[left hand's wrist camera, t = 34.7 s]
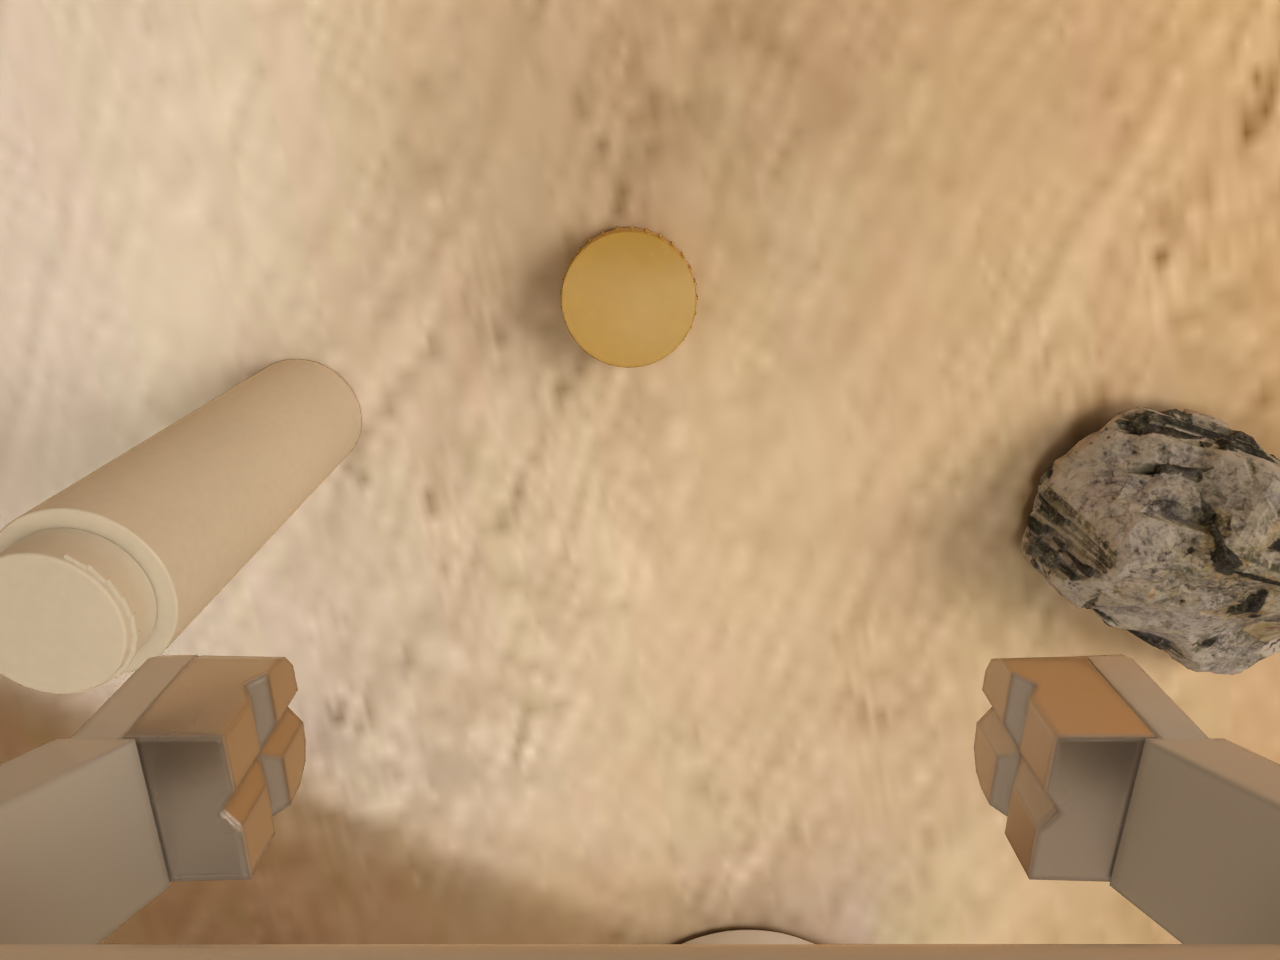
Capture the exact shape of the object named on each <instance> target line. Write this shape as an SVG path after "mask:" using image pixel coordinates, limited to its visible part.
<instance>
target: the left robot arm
mask: <svg viewBox="0 0 1280 960" xmlns="http://www.w3.org/2000/svg"><path fill="white" fill-rule="evenodd" d="M297 690H298V688H297V684H296V679H295V674H294V669H293V665H292V664H291V663H290V662H289V661H288V660H287V659H286V658H285V657H246V656H197V655H167V656H156V657H151V658H148V659H147V660H146V661H145V662H144V663H143V664H142V665H141V666H140V667H139V668H138V669H137V670H136V672H135V673H134V674H133V675H132V676H131V677H130V678H129V679H128V680H127V681H126V682H125V683H124V684H123V685H122V686H121V687H120V688H119V689H118V690H117V691H116V692H115V693H114V694H113V695H112V696H111V697H110V698H109V699H108V701H107V702H106V703H105V704H104V705H103V706H102V707H101V708H100V709H99V710H98V711H97V712H96V713H95V714H94V715H93V716H92V717H91V718H90V719H89V720H88V721H87V722H86V723H85V724H84V725H83V726H82V727H81V728H80V729H79V731H78V732H77V733H76V734H75V735H74V736H73V737H72V738H71V739H54V740H52V741H50V742H48V743H46V744H44V745H41V746H39V747H37V748H35V749H33V750H30V751H28V752H26V753H24V754H22V755H20V756H17V757H15V758H13V759H11V760H9V761H7V762H4V763H2V764H0V960H1280V764H1278V763H1276V762H1273V761H1271V760H1269V759H1267V758H1265V757H1262V756H1260V755H1258V754H1256V753H1254V752H1252V751H1249V750H1247V749H1245V748H1243V747H1241V746H1239V745H1236V744H1234V743H1232V742H1230V741H1228V740H1226V739H1209V738H1208V737H1207V736H1206V735H1205V734H1204V733H1203V731H1202V730H1201V729H1200V728H1199V727H1198V726H1197V725H1196V724H1195V723H1194V722H1193V721H1192V720H1191V719H1190V718H1189V717H1188V716H1187V715H1186V714H1185V713H1184V712H1183V711H1182V710H1181V709H1180V708H1179V707H1178V706H1177V705H1176V703H1175V702H1174V701H1173V700H1172V699H1171V698H1170V697H1169V696H1168V695H1167V694H1166V693H1165V692H1164V691H1163V690H1162V689H1161V688H1160V687H1159V686H1158V685H1157V684H1156V683H1155V682H1154V681H1153V680H1152V679H1151V678H1150V677H1149V675H1148V674H1147V673H1146V672H1145V671H1144V670H1143V669H1142V668H1141V667H1140V666H1139V665H1138V664H1137V663H1136V662H1135V661H1134V660H1133V659H1131V658H1128V657H1126V656H1124V655H1100V656H1078V657H1039V658H1000V659H991V661H990V663H989V665H988V667H987V669H986V671H985V677H984V683H983V688H982V690H983V692H984V694H985V695H986V697H987V698H988V700H989V702H990V703H991V705H992V707H991V708H990V709H989V710H988V712H987V713H986V714H985V715H984V716H983V717H982V718H981V719H980V720H979V721H978V722H977V726H976V734H975V742H974V753H975V764H976V772H977V776H978V779H979V782H980V786H981V789H982V791H983V793H984V795H985V797H986V799H987V801H988V803H989V804H990V805H991V806H993V807H994V808H996V809H997V810H998V811H1000V812H1001V813H1003V814H1004V815H1006V816H1007V817H1008V818H1007V823H1006V829H1005V835H1006V837H1007V839H1008V840H1009V842H1010V844H1011V846H1012V848H1013V850H1014V852H1015V853H1016V855H1017V857H1018V859H1019V861H1020V863H1021V865H1022V866H1023V868H1024V870H1025V872H1026V874H1027V876H1028V878H1029V879H1035V880H1071V881H1107V882H1110V886H1111V887H1112V888H1114V889H1115V890H1116V891H1117V892H1119V893H1120V894H1121V895H1122V896H1124V897H1125V898H1126V899H1127V900H1129V901H1130V902H1131V903H1132V904H1134V905H1135V906H1136V907H1137V908H1139V909H1140V910H1141V911H1142V912H1144V913H1145V914H1146V915H1147V916H1149V917H1150V918H1151V919H1152V920H1154V921H1155V922H1156V923H1157V924H1159V925H1160V926H1161V927H1162V928H1164V929H1165V930H1166V931H1167V932H1169V933H1170V934H1171V935H1172V936H1174V937H1175V938H1176V939H1177V940H1179V941H1180V942H1181V943H1182V944H98V943H99V942H100V941H102V940H103V939H104V938H105V937H107V936H108V935H109V934H110V933H112V932H113V931H114V930H115V929H117V928H118V927H119V926H120V925H122V924H123V923H124V922H125V921H127V920H128V919H129V918H130V917H132V916H133V915H134V914H135V913H137V912H138V911H139V910H140V909H142V908H143V907H144V906H145V905H147V904H148V903H149V902H150V901H152V900H153V899H154V898H155V897H157V896H158V895H159V894H160V893H162V892H163V891H164V890H165V889H167V888H168V887H169V886H170V882H172V881H207V880H242V879H251V878H252V876H253V874H254V872H255V870H256V868H257V867H258V865H259V863H260V861H261V859H262V857H263V855H264V853H265V852H266V850H267V848H268V846H269V844H270V842H271V840H272V839H273V837H274V835H275V829H274V823H273V818H272V817H273V816H274V815H276V814H277V813H279V812H280V811H282V810H283V809H284V808H286V807H287V806H289V805H290V804H291V802H292V800H293V798H294V796H295V794H296V792H297V790H298V788H299V786H300V783H301V778H302V774H303V769H304V765H305V755H306V739H305V732H304V726H303V722H302V721H301V720H300V719H299V718H298V717H297V716H296V715H295V714H294V713H293V712H292V710H291V709H290V708H289V707H288V705H289V703H290V702H291V700H292V698H293V697H294V695H295V694H296V692H297Z"/></svg>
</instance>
